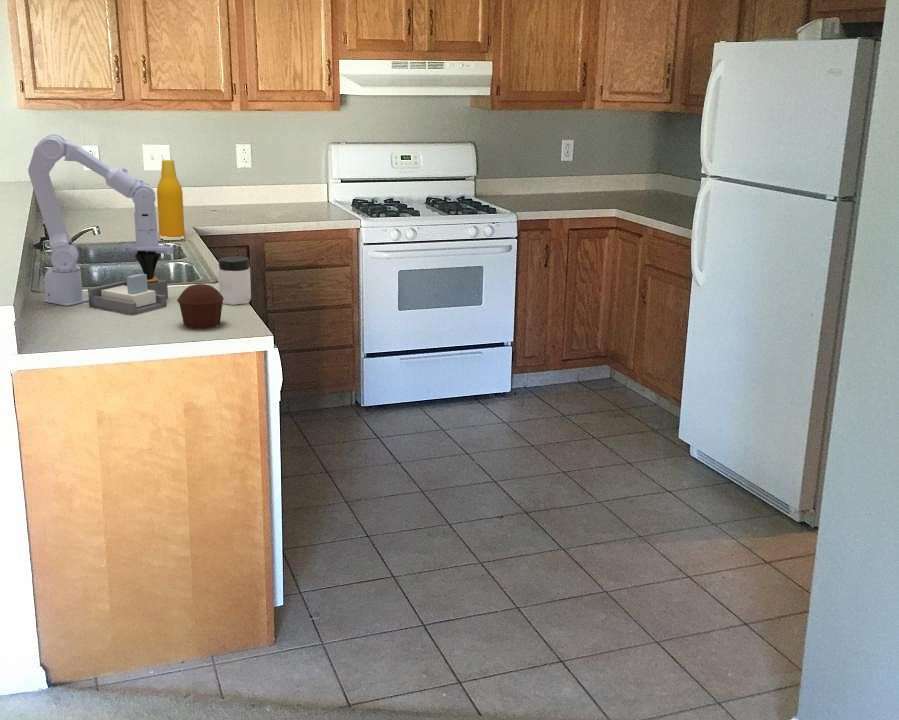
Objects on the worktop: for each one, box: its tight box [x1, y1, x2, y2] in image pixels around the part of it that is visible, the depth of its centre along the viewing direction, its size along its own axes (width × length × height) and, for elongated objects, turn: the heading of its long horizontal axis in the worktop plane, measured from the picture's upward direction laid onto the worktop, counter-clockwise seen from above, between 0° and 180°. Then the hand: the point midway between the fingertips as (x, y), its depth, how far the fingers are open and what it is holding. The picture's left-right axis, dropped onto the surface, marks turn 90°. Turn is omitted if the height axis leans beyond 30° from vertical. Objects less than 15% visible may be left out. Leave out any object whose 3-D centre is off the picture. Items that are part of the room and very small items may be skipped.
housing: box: [87, 279, 169, 316], centre depth 263 cm, size 16×19×5 cm
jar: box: [218, 255, 252, 306], centre depth 267 cm, size 9×8×12 cm
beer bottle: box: [156, 159, 186, 237], centre depth 361 cm, size 9×9×29 cm
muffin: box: [176, 283, 224, 330], centre depth 243 cm, size 12×11×10 cm
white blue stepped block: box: [101, 273, 156, 307], centre depth 259 cm, size 12×8×8 cm, turn 61°
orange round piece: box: [147, 276, 158, 283], centre depth 269 cm, size 4×4×4 cm
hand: (149, 278), depth 268 cm, fingers closed, pressing on orange round piece
